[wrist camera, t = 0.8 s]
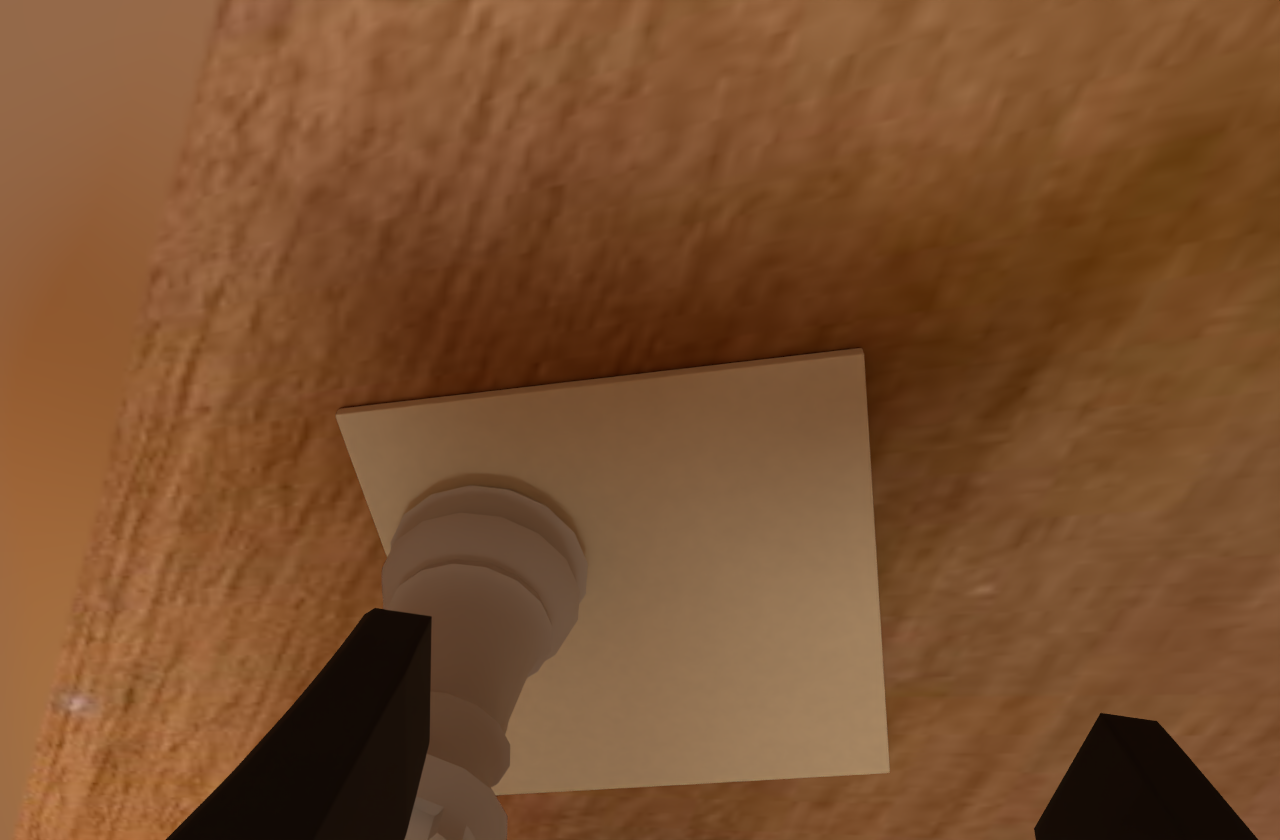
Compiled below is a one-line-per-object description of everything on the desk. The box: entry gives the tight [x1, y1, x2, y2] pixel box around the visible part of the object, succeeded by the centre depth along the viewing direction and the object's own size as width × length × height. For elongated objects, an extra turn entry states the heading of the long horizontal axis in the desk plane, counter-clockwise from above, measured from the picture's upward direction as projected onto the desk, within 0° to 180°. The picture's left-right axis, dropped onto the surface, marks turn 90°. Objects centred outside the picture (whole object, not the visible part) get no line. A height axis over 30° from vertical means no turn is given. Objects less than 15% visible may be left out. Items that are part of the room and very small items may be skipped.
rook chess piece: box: [382, 485, 588, 840], centre depth 19 cm, size 4×4×8 cm
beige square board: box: [335, 348, 890, 795], centre depth 23 cm, size 11×12×1 cm
